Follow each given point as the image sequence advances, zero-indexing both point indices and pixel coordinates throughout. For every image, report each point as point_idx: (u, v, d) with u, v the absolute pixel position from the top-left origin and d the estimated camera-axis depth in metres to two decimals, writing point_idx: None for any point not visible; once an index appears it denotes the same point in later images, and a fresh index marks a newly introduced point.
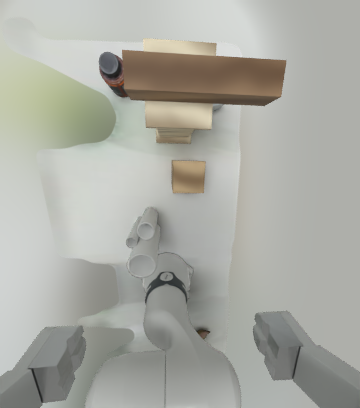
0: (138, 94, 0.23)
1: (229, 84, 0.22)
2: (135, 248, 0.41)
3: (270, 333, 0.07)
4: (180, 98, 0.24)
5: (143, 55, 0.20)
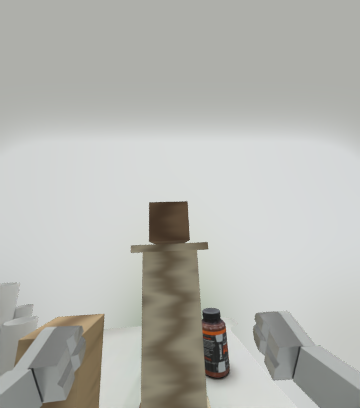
0: None
1: None
2: (16, 299, 0.34)
3: (270, 333, 0.07)
4: None
5: None
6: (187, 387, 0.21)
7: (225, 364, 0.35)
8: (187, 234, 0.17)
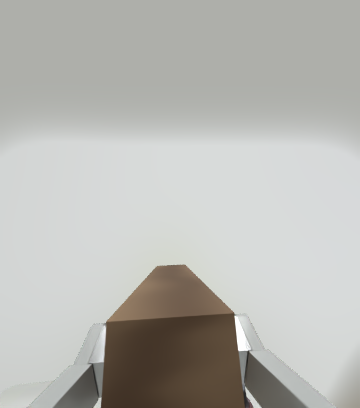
0: None
1: (157, 281, 0.12)
2: None
3: None
4: None
5: (183, 266, 0.22)
6: None
7: None
8: None
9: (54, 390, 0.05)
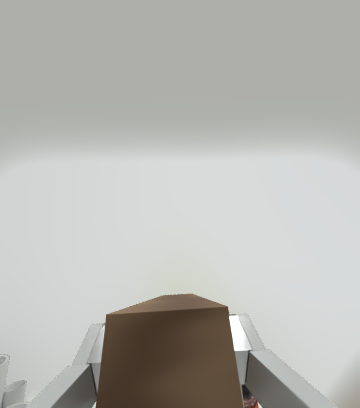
0: None
1: (160, 300, 0.12)
2: (5, 380, 0.28)
3: None
4: None
5: (189, 294, 0.21)
6: None
7: None
8: None
9: (52, 390, 0.05)
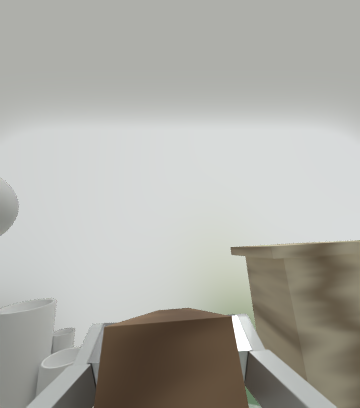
0: None
1: (157, 314, 0.11)
2: (53, 324, 0.24)
3: None
4: None
5: (186, 308, 0.21)
6: None
7: None
8: None
9: (53, 390, 0.05)
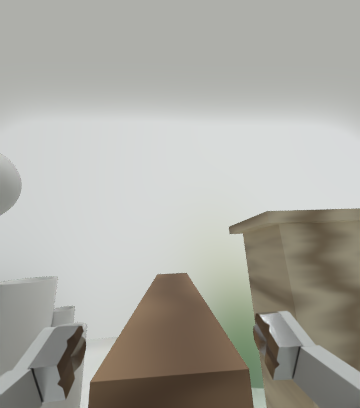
0: None
1: (156, 300, 0.11)
2: (54, 300, 0.25)
3: (270, 333, 0.07)
4: None
5: (184, 275, 0.21)
6: None
7: None
8: None
9: None
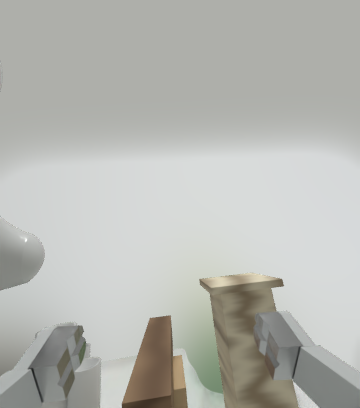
0: None
1: (146, 354, 0.21)
2: None
3: (270, 333, 0.07)
4: None
5: (168, 320, 0.31)
6: None
7: None
8: None
9: None
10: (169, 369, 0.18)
